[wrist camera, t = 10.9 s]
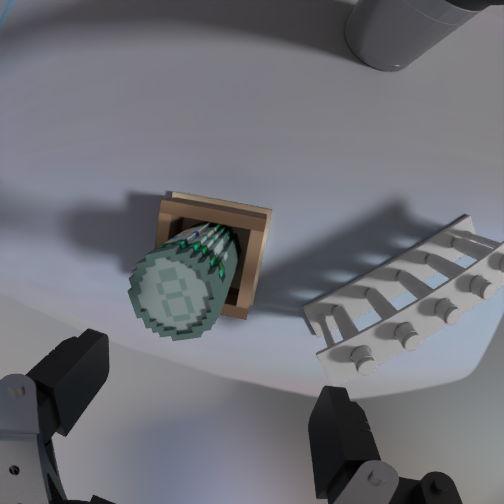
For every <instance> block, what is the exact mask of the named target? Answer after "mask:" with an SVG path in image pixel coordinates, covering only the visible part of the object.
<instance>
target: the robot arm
mask: <svg viewBox="0 0 504 504" xmlns="http://www.w3.org/2000/svg"><path fill="white" fill-rule="evenodd" d="M490 5H504V0H358V1H357V3H356V5H355V7H354V8H353V10H352V12H351V14H350V16H349V18H348V20H347V23H346V25H345V38H346V41H347V43H348V45H349V47H350V48H351V50H352V51H353V52H354V54H355V55H356V56H357V57H358V58H359V59H361V60H362V61H363V62H364V63H366V64H368V65H369V66H371V67H374V68H376V69H379V70H383V71H391V72H393V71H399V70H401V69H403V68H405V67H406V66H408V65H409V64H410V63H412V62H413V61H414V60H415V59H417V58H418V57H420V56H421V55H422V54H424V53H425V52H426V51H428V50H429V49H430V48H432V47H433V46H434V45H436V44H437V43H438V42H440V41H441V40H442V39H444V38H445V37H446V36H448V35H449V34H450V33H452V32H453V31H455V30H456V29H457V28H459V27H460V26H461V25H463V24H464V23H466V22H467V21H468V20H470V19H471V18H472V17H474V16H475V15H477V14H478V13H480V12H481V11H482V10H484V9H485V8H487V7H488V6H490ZM108 374H109V340H108V336H107V335H106V334H104V333H101V332H98V331H95V330H92V329H87V330H86V331H85V332H83V333H82V334H81V335H80V336H79V337H78V338H77V337H75V336H74V337H71V338H69V339H66V340H64V341H62V342H61V343H60V344H59V345H58V346H57V347H55V350H52V351H51V352H50V353H49V355H47V356H46V357H44V358H43V359H42V360H41V361H40V362H39V363H38V364H37V365H36V366H35V367H34V368H33V369H31V370H30V371H29V372H28V373H27V374H26V375H23V374H10V375H7V376H5V377H4V378H3V379H1V380H0V504H115V503H112V502H110V501H107V500H105V499H103V498H100V497H98V496H95V495H93V497H92V499H91V501H90V502H88V501H81V500H68V499H67V497H66V494H65V492H64V489H63V486H62V483H61V480H60V476H59V471H58V467H57V462H56V458H55V453H54V447H53V443H52V438H51V437H52V436H53V434H54V433H55V432H57V433H59V434H61V435H63V436H65V437H66V436H67V435H68V433H69V432H70V430H71V429H72V428H73V426H74V425H75V423H76V422H77V420H78V419H79V417H80V416H81V415H82V413H83V412H84V411H85V409H86V408H87V406H88V405H89V404H90V402H91V401H92V399H93V398H94V397H95V395H96V394H97V393H98V391H99V390H100V388H101V387H102V386H103V384H104V383H105V382H106V380H107V377H108ZM367 422H368V421H367V418H366V415H365V412H364V410H363V409H362V408H361V407H360V406H359V405H358V404H357V403H356V402H351V401H350V399H349V396H348V393H347V390H346V388H343V387H334V386H324V387H323V389H322V391H321V393H320V395H319V398H318V400H317V403H316V404H315V407H314V409H313V411H312V413H311V416H310V419H309V424H308V432H309V440H310V448H311V456H312V463H313V472H314V482H315V491H316V498H317V499H328V504H462V501H461V499H460V496H459V493H458V491H457V488H456V486H455V484H454V482H453V480H452V479H451V478H450V477H449V476H448V475H446V474H444V473H442V472H430V473H428V474H426V475H425V476H424V477H423V478H422V479H421V480H413V479H407V478H402V477H399V476H398V473H397V471H396V470H395V469H394V468H393V467H392V466H390V465H389V464H387V463H385V462H382V461H381V458H380V455H379V452H378V450H377V447H376V444H375V441H374V438H373V435H372V432H370V430H371V429H370V426H369V424H368V423H367Z"/></svg>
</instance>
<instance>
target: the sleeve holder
mask: <svg viewBox="0 0 504 504" xmlns="http://www.w3.org/2000/svg"><path fill="white" fill-rule="evenodd" d="M271 214H272V209H267V208H262V207H257V206H252V205H246V204H241V203H236V202H231V201H225V200H220V199H214V198H209V197H203V196H197V195H192V194H186V193H180V192H173V193H172V198H169V199H163V200H161V205H160V211H159V219H158V226H157V234H156V242H155V248H157V247H159V246H160V245H162V244H164V243H165V242H167V241H168V240H170V239H172V238H173V237H175V236H177V235H178V234H180V233H181V232H183V231H185V230H186V229H188V228H190V227H191V226H193V225H195V224H196V223H200V222H204V221H208V222H214V223H219V224H224V225H228V227H232V230H233V234H235V233H237V235H238V239H239V243H240V247H241V254H240V257H239V262H238V265H237V268H236V271H235V273H234V276H233V279H232V282H231V285H230V288H229V291H228V293H227V296H226V299H225V302H224V305H223V308H222V311H221V313H220V314H221V315H226V316H231V317H236V318H241V319H246V318H247V313H248V309H249V305H251V306H253V301H254V297H255V292H256V287H257V282H258V277H259V273H260V268H261V263H262V258H263V253H264V249H265V244H266V239H267V234H268V229H269V224H270V219H271Z"/></svg>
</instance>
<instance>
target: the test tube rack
mask: <svg viewBox="0 0 504 504" xmlns="http://www.w3.org/2000/svg"><path fill="white" fill-rule="evenodd" d="M477 242H479V243H481V244H484V245H487V246H490V247H492V248H494V249H491V248H488V247H486V246H483V245H480V244H478V243H477ZM463 255H468V256H470V257H472V258H475V259H477V261H476V262H474V263H473V264H471V265H470V266H469V267H467V268H466V269H465V268H463V267H461V266H459V265H457V264H455V263H453V262H454V261H456V260H457V259H459V258H460V257H462V256H463ZM502 271H503V272H502ZM437 272H439V273H441V274H443V275H444V276H446V277H448V278H449V280H448V281H446V282H445V283H443V284H441V285H440V286H438V287H437V288H435V289H434V290H433V289H432V288H431V287H429V286H428V285H426V284H425V283H424V282H422V281H424V280H426V279H427V278H429V277H431V276H432V275H434V274H435V273H437ZM479 275H480V276H481V277H480V276H479ZM503 284H504V241H503V242H502V243H499V242H496V241H493V240H490V239H487V238H484V237H481V236H478V235H475V231H474V227H473V223H472V220H471V216H470V215H466V216H465V217H463V218H461V219H460V220H458V221H457V222H455V223H454V224H452V225H450V226H449V227H447V228H446V229H444V230H442V231H441V232H439V233H437V234H436V235H434V236H432V237H431V238H429V239H427V240H426V241H424V242H422V243H421V244H419V245H417V246H415V247H414V248H412V249H410V250H409V251H407V252H405V253H403V254H402V255H400V256H398V257H396V258H395V259H393V260H391V261H389V262H387V263H386V264H384V265H382V266H380V267H378V268H377V269H375V270H373V271H371V272H369V273H367V274H366V275H364V276H362V277H360V278H358V279H356V280H354V281H352V282H350V283H349V284H347V285H345V286H343V287H341V288H339V289H337V290H335V291H333V292H331V293H329V294H327V295H325V296H323V297H321V298H319V299H317V300H315V301H313V302H311V303H309V304H307V305H305V306H303V310H304V312H305V314H306V316H307V318H308V320H309V322H310V324H311V326H312V328H313V330H314V332H315V333H316V335H317V337H320V336H323V335H324V338H325V341H326V344H327V348H325V349H323V350H321V351H319V352H317V353H316V356H317V358H318V359H319V361H320V363H321V365H322V367H323V369H324V371H325V373H326V375H327V376H328V378H329V380H330V382H331V384H332V386H334V387H335V386H337V385H340V384H342V383H344V382H346V381H348V380H350V379H353V378H355V377H357V376H359V375H364V376H365V375H369V374H371V373H373V372H374V371H375V369H376V367H377V366H379V365H380V364H382V363H384V362H386V361H388V360H390V359H392V358H394V357H395V356H397V355H399V354H401V353H403V352H404V351H406V350H407V351H413V350H415V349H417V348H418V347H419V346H420V344H421V341H423V340H425V339H426V338H428V337H430V336H431V335H433V334H434V333H436V332H438V331H439V330H441V329H442V328H444V327H445V326H447V325H448V324H449V325H455V324H456V323H458V322H459V320H460V318H461V316H462V315H463V314H465V313H466V312H468V311H469V310H470V309H472V308H473V307H475V306H476V305H477V304H479V303H480V302H481V301H483V300H490V299H491V298H492V297H493V296H494V294H495V291H496V290H497V289H498V288H500V287H501V286H502V285H503ZM407 290H408V291H409V292H410V293H412V294H413V295H414V296H415V297H416V298H418V299H417V300H416V301H414V302H412V303H410V304H409V305H407V306H405V307H404V308H402V309H400V310H398V311H397V310H396V309H395V308H394V307H393V306H392V304H391V303H390V302H389V301H390V300H392V299H393V298H395V297H397V296H399V295H400V294H402V293H404V292H406V291H407ZM470 291H471V292H472V293H471V292H470ZM446 298H447V299H448V300H447V299H446ZM374 309H375V311H376V312H377V313H378V315H379V316H380V317H381V318H382V320H380V321H379V322H377V323H375V324H373V325H371V326H369V327H367V328H365V329H364V330H362V331H360V332H359V331H358V329H357V328H356V326H355V324H354V322H353V320H355V319H357V318H358V317H360V316H362V315H364V314H366V313H368V312H370V311H372V310H374ZM436 315H437V316H436ZM408 322H409V323H410V324H411V325H410V324H409V323H408ZM337 328H339V331H340V333H341V335H342V337H343V339H344V340H342V341H340V342H338V343H336V344H335V343H334V340H333V338H332V335H331V331H333V330H335V329H337ZM395 336H396V337H395ZM396 338H397V339H396ZM368 348H369V349H370V351H369V349H368ZM351 357H352V359H353V360H352V359H351Z"/></svg>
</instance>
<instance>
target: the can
mask: <svg viewBox="0 0 504 504" xmlns="http://www.w3.org/2000/svg"><path fill="white" fill-rule="evenodd" d="M240 254H241V247H240V243H239V239H238V235H237V233H235V234H233V230H232V227H228V225H224V224H219V223H214V222H208V221H204V222H200V223H196V224H195V225H193V226H191V227H190V228H188V229H186V230H185V231H183V232H181V233H180V234H178V235H177V236H175V237H173V238H172V239H170V240H168V241H167V242H165V243H164V244H162V245H160V246H159V247H157V248H155V249H154V250H152V251H151V252H149V253H148V254H146V255H145V258H144V259H142V260H141V261H139V262H138V263H136V267H137V268H136V269H135V270H133V271H132V273H133V275H132V276H131V277H130V278H129V281H130V284H131V288H130V289H129V290H128V294H129V297H130V300H131V303H132V305H133V308H134V311H135V314H136V317H137V318H143V321H144V324H145V327H146V328H152V331H153V333H155V332H159V335H160V337H166V336H171V337H172V340H173V341H177V340H184V339H191V338H198V337H201V335H202V333H203V331H207V330H211V328H212V325H213V324H215V322H216V319H217V317H219V316H220V313H221V311H222V308H223V305H224V302H225V299H226V296H227V293H228V291H229V288H230V285H231V282H232V279H233V276H234V273H235V271H236V268H237V265H238V262H239V257H240Z"/></svg>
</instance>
